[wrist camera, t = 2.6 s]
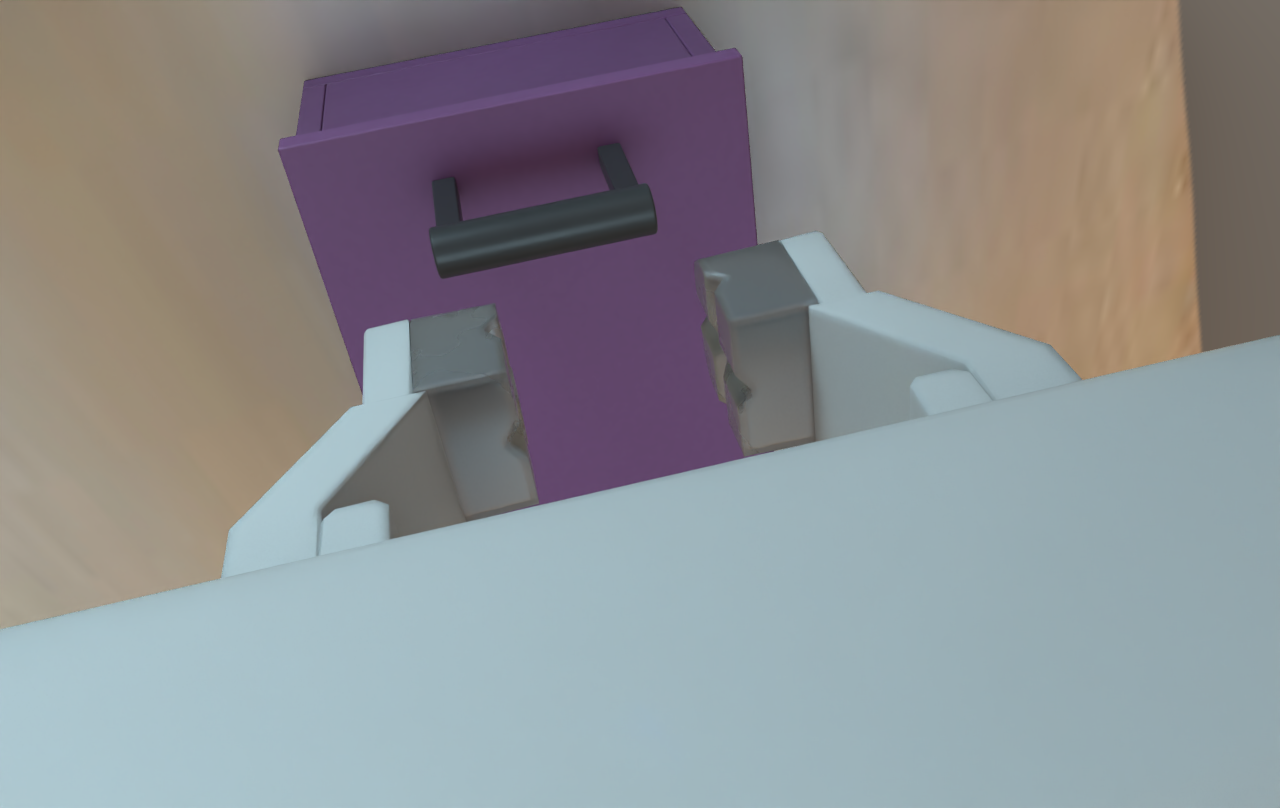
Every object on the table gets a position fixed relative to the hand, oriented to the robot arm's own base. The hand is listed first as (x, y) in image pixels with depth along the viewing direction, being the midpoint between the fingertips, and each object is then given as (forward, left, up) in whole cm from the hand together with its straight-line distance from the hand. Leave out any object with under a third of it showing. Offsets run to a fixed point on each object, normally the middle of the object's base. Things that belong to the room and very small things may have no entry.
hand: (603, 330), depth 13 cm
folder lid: (+14, 0, -21) cm, 25 cm away
